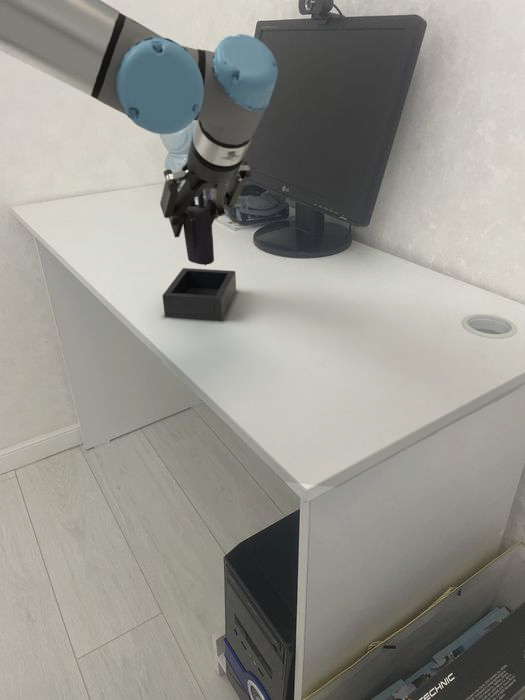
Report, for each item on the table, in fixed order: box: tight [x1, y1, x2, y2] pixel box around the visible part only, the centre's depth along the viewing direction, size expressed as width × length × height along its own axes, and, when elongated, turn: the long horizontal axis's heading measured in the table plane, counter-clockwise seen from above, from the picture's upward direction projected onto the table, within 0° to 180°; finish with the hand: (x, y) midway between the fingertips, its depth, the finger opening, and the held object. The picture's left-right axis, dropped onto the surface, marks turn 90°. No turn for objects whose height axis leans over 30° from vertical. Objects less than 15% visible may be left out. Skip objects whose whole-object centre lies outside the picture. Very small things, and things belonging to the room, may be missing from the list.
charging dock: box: [161, 267, 237, 322], centre depth 95 cm, size 10×12×4 cm
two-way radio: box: [182, 191, 215, 266], centre depth 88 cm, size 6×4×15 cm
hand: (190, 227), depth 92 cm, fingers closed on two-way radio, 5 cm apart
